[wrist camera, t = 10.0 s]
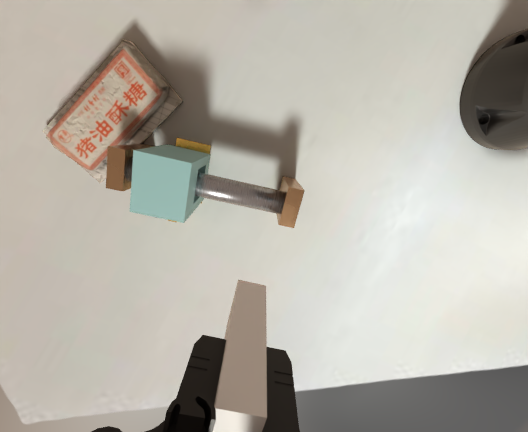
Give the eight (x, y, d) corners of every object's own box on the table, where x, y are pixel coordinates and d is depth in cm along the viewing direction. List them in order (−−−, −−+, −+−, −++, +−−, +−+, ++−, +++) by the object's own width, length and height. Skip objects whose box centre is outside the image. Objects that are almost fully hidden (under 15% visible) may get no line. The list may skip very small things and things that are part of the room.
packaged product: (111, 23, 29) (174, 96, 31) (131, 39, 34) (185, 101, 36) (20, 130, 32) (83, 189, 35) (50, 131, 37) (104, 182, 39)
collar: (163, 190, 37) (129, 211, 28) (167, 144, 35) (133, 150, 26) (203, 199, 38) (183, 222, 28) (210, 154, 36) (191, 163, 26)
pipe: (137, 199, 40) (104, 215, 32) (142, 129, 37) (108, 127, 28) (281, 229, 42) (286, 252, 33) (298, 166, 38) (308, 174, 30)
